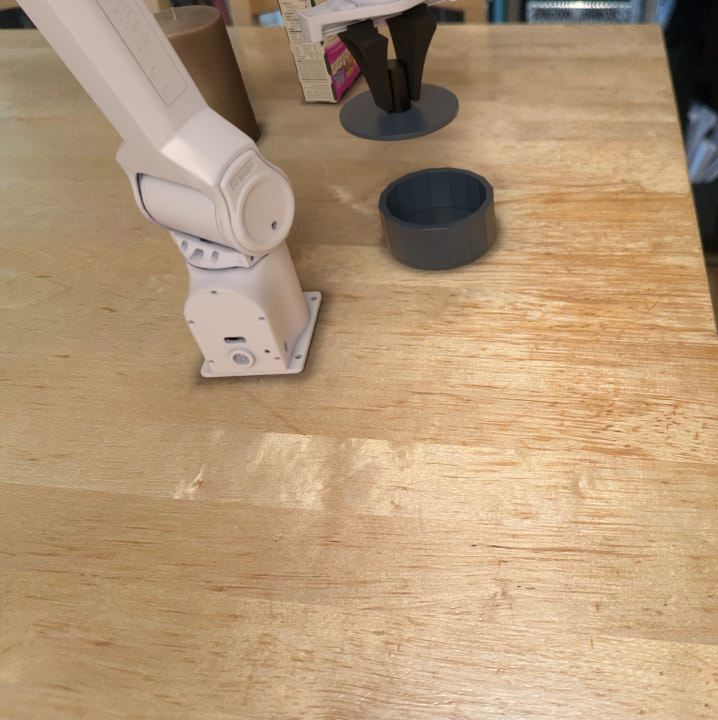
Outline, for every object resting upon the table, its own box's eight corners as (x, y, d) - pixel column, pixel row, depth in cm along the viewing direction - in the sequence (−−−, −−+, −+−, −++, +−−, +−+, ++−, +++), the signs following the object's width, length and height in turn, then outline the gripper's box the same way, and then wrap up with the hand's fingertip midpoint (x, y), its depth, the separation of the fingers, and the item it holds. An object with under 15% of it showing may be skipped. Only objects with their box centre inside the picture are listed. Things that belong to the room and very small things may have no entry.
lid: (458, 143, 57) (452, 86, 54) (332, 151, 58) (319, 94, 54) (461, 90, 65) (456, 36, 62) (350, 97, 66) (339, 44, 62)
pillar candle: (276, 131, 80) (237, -2, 70) (214, 167, 75) (161, 28, 64) (224, 116, 84) (178, -13, 74) (161, 148, 79) (103, 15, 68)
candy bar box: (332, 69, 93) (302, -65, 81) (365, 70, 92) (340, -66, 81) (301, 103, 85) (264, -39, 74) (337, 104, 85) (305, -40, 73)
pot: (496, 267, 58) (494, 225, 55) (381, 273, 59) (372, 232, 56) (494, 204, 66) (492, 164, 62) (392, 210, 66) (384, 170, 63)
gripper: (422, -94, 56) (439, 67, 66) (265, -58, 51) (308, 112, 60) (469, -82, 52) (480, 88, 61) (303, -42, 46) (344, 138, 56)
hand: (398, 102), depth 61 cm, fingers closed on lid, 2 cm apart
